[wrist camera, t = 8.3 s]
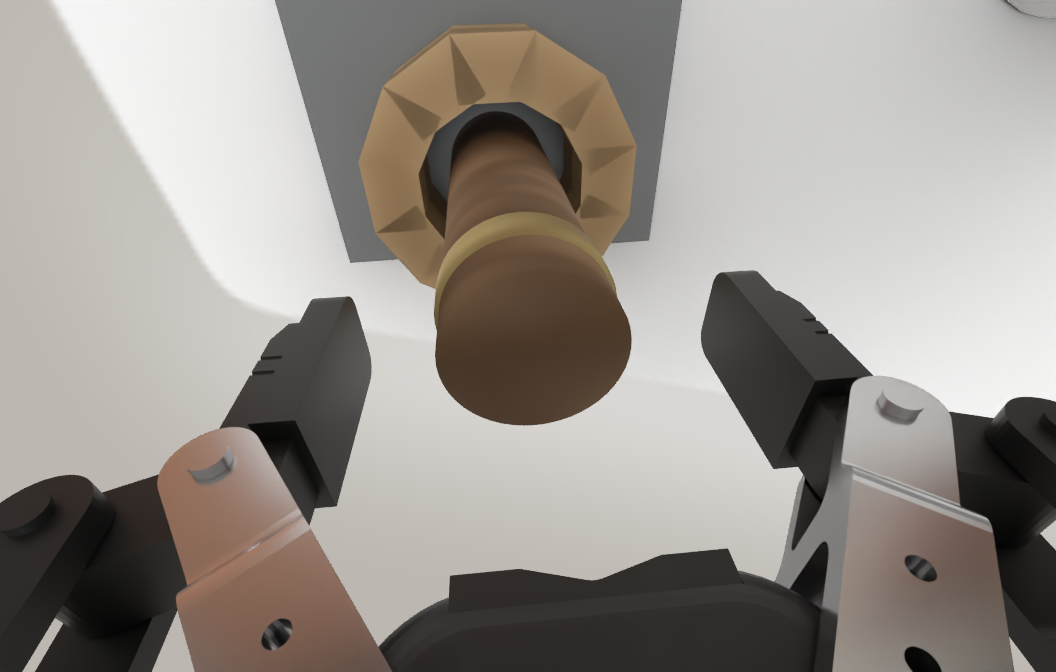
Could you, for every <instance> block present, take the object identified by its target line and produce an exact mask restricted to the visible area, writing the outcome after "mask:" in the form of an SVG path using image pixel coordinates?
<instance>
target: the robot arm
mask: <svg viewBox="0 0 1056 672" xmlns="http://www.w3.org/2000/svg"><path fill="white" fill-rule="evenodd" d="M1008 2H1009V3H1010V4H1012V5H1013V6H1014V7H1016V8H1017V9H1018V10H1020V11H1021V12H1022V13H1026V14H1030V15H1034V16H1038V17H1046V18H1056V0H1008ZM701 343H702V348H703V351H704V354H705V356H706V358H707V359H708V361H709V363H710V364H711V366H712V368H713V369H714V371H715V373H716V374H717V376H718V378H719V379H720V381H721V383H722V384H723V386H724V388H725V389H726V391H727V393H728V394H729V396H730V397H731V399H732V401H733V402H734V404H735V406H736V408H737V409H738V410H739V412H740V414H741V416H742V417H743V419H744V421H745V422H746V424H747V426H748V427H749V429H750V430H751V432H752V434H753V436H754V437H755V439H756V441H757V442H758V444H759V446H760V447H761V449H762V451H763V452H764V454H765V456H766V457H767V459H768V460H769V462H770V464H771V466H772V467H773V469H778V468H789V467H799V469H800V470H801V472H802V473H803V476H802V478H801V480H800V482H799V485H798V488H797V492H796V498H795V502H794V507H793V512H792V516H791V521H790V526H789V531H788V536H787V540H786V545H785V551H784V555H783V559H782V563H781V566H780V570H779V572H778V575H777V577H776V580H775V582H773V581H771V580H768V579H765V578H763V577H760V576H756V575H753V574H749V573H746V572H742V571H737V568H736V566H735V564H734V561H733V559H732V557H731V555H730V552H729V550H728V549H718V550H708V551H698V552H688V553H678V554H667V555H661V556H658V557H655V558H653V559H650V560H648V561H645V562H643V563H640V564H638V565H635V566H633V567H630V568H628V569H625V570H622V571H620V572H618V573H615V574H613V575H610V576H608V577H605V578H603V579H599V580H593V581H591V580H583V579H577V578H571V577H565V576H559V575H553V574H547V573H540V572H535V571H529V570H523V569H514V570H504V571H494V572H484V573H474V574H464V575H453V576H450V587H449V598H447V599H444V600H441V601H439V602H437V603H435V604H433V605H431V606H429V607H427V608H425V609H424V610H422V611H420V612H419V613H417V614H416V615H414V616H413V617H411V618H410V619H409V620H407V621H406V622H404V623H403V624H402V625H401V626H400V627H398V628H397V629H396V630H395V631H394V632H393V633H392V634H390V635H389V636H388V637H387V639H385V641H384V642H383V643H382V644H381V645H380V646H379V647H378V646H377V644H376V642H375V640H374V639H373V637H372V635H371V633H370V632H369V630H368V628H367V626H366V625H365V623H364V621H363V619H362V618H361V616H360V614H359V612H358V611H357V609H356V607H355V605H354V604H353V602H352V600H351V599H350V597H349V595H348V593H347V592H346V590H345V588H344V586H343V584H342V583H341V581H340V579H339V578H338V576H337V574H336V572H335V570H334V569H333V567H332V565H331V564H330V562H329V560H328V558H327V556H326V555H325V553H324V551H323V549H322V548H321V546H320V544H319V543H318V541H317V539H316V537H315V536H314V534H313V532H312V530H311V528H310V527H309V525H310V522H311V519H312V516H313V512H314V509H315V508H321V507H322V508H323V507H334V506H337V503H338V499H339V495H340V491H341V487H342V484H343V480H344V477H345V473H346V468H347V465H348V462H349V458H350V454H351V450H352V447H353V443H354V439H355V435H356V432H357V428H358V424H359V421H360V417H361V413H362V409H363V406H364V401H365V398H366V394H367V390H368V387H369V383H370V379H371V358H370V353H369V349H368V346H367V342H366V339H365V336H364V332H363V329H362V326H361V322H360V319H359V316H358V312H357V309H356V306H355V303H354V301H353V300H352V298H351V297H334V298H319V299H313V300H311V302H310V304H309V305H308V307H307V309H306V311H305V313H304V315H303V317H302V319H301V321H300V323H293V324H288V325H287V326H286V327H285V328H284V329H283V330H281V331H280V332H279V333H278V334H277V335H275V337H273V338H272V339H271V340H270V341H269V343H268V345H267V347H266V348H265V350H264V352H263V354H262V355H261V361H258V362H257V364H256V366H255V368H254V369H253V371H252V376H249V378H248V380H247V382H246V383H245V385H244V387H243V388H242V390H241V392H240V394H239V396H238V397H237V399H236V401H235V402H234V404H233V406H232V408H231V409H230V411H229V413H228V415H227V416H226V418H225V420H224V422H223V423H222V425H221V427H220V429H217V430H214V431H211V432H208V433H205V434H203V435H201V436H199V437H197V438H195V439H193V440H191V441H190V442H188V443H187V444H185V445H183V446H182V447H181V448H180V449H178V450H177V451H176V452H175V453H174V454H173V455H172V456H171V457H170V458H169V459H168V460H167V462H166V463H165V464H164V466H163V468H162V469H161V471H160V474H159V475H156V476H153V477H150V478H147V479H143V480H140V481H137V482H134V483H131V484H128V485H125V486H121V487H118V488H115V489H112V490H109V491H106V492H103V493H102V492H100V491H99V489H98V488H97V487H96V486H95V485H94V484H93V483H92V482H91V481H89V480H88V479H87V478H85V477H82V476H79V475H65V476H58V477H53V478H50V479H46V480H43V481H40V482H38V483H35V484H33V485H31V486H29V487H26V488H24V489H22V490H21V491H19V492H17V493H15V494H13V495H12V496H10V497H9V498H7V499H5V500H4V501H3V502H1V503H0V672H22V671H23V670H24V668H25V666H26V665H27V663H28V661H29V660H30V658H31V656H32V655H33V653H34V651H35V650H36V648H37V646H38V645H39V643H40V641H41V640H42V638H43V637H44V635H45V633H46V631H47V630H48V628H49V627H50V625H51V623H52V622H53V620H54V618H56V619H58V620H59V621H61V622H62V623H63V625H62V627H61V629H60V630H59V632H58V634H57V635H56V637H55V639H54V640H53V642H52V644H51V645H50V647H49V649H48V651H47V652H46V654H45V656H44V657H43V659H42V661H41V663H40V664H39V666H38V668H37V669H36V671H35V672H152V669H153V667H154V665H155V662H156V660H157V657H158V655H159V653H160V650H161V648H162V646H163V643H164V641H165V638H166V636H167V634H168V631H169V629H170V627H171V624H172V622H173V619H174V617H175V615H176V612H177V610H178V614H179V617H180V621H181V624H182V628H183V631H184V635H185V638H186V642H187V646H188V649H189V653H190V656H191V660H192V664H193V667H194V671H195V672H1014V667H1013V660H1012V653H1011V646H1010V641H1009V637H1010V638H1011V639H1012V641H1013V642H1014V643H1015V645H1016V646H1017V647H1018V649H1019V650H1020V651H1021V653H1022V654H1023V655H1024V657H1025V658H1026V659H1027V661H1028V662H1029V663H1030V665H1031V666H1032V667H1033V669H1034V670H1035V671H1036V672H1056V550H1055V549H1054V548H1053V547H1052V546H1051V545H1050V544H1049V543H1048V542H1047V541H1046V540H1045V538H1043V536H1042V535H1041V534H1040V533H1041V532H1042V531H1043V530H1044V529H1046V528H1047V527H1048V526H1049V525H1050V524H1052V523H1053V522H1054V521H1055V520H1056V402H1054V401H1051V400H1047V399H1042V398H1035V397H1019V398H1015V399H1012V400H1010V401H1008V402H1007V403H1006V405H1005V406H1004V407H1003V408H1002V409H1001V411H1000V412H999V413H998V414H997V415H996V416H995V418H988V417H981V416H975V415H968V414H961V413H955V412H948V410H947V409H946V408H945V406H944V405H943V404H942V403H941V402H940V401H939V400H938V399H936V398H935V397H934V396H932V395H931V394H930V393H928V392H926V391H925V390H923V389H921V388H919V387H917V386H915V385H913V384H911V383H908V382H905V381H902V380H899V379H895V378H891V377H885V376H873V375H872V374H871V373H870V372H869V371H868V370H867V369H866V368H865V367H864V366H863V365H862V364H861V363H860V362H859V361H858V360H857V359H856V358H855V357H854V356H853V355H852V354H851V353H850V352H849V351H848V350H847V349H846V348H845V347H844V346H843V345H842V344H841V343H840V342H839V341H838V340H837V339H836V338H835V337H834V336H833V335H832V334H828V330H827V329H826V328H825V327H824V326H823V325H822V324H821V323H820V322H819V321H816V318H815V317H814V315H813V314H812V313H811V312H810V311H809V310H808V309H807V308H806V307H805V306H804V305H803V304H802V303H800V302H798V301H797V300H795V299H793V298H791V297H789V296H788V295H786V294H784V293H782V292H780V291H775V289H774V288H773V287H772V286H771V285H770V284H769V283H768V282H767V281H766V280H765V279H764V278H763V277H762V276H761V275H760V274H759V273H758V272H757V271H753V270H752V271H737V272H722V273H719V274H718V275H717V276H716V277H715V279H714V282H713V285H712V289H711V294H710V298H709V302H708V306H707V310H706V314H705V318H704V322H703V326H702V330H701Z"/></svg>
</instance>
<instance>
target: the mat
mask: <svg viewBox="0 0 1056 672" xmlns="http://www.w3.org/2000/svg"><path fill="white" fill-rule="evenodd" d="M275 2H276V6H277V9H278V13H279V16H280V20H281V23H282V27H283V30H284V34H285V37H286V41H287V44H288V47H289V51H290V54H291V58H292V61H293V65H294V68H295V72H296V75H297V79H298V82H299V86H300V89H301V93H302V96H303V100H304V103H305V107H306V110H307V114H308V117H309V121H310V124H311V128H312V131H313V134H314V138H315V141H316V145H317V148H318V152H319V155H320V159H321V162H322V166H323V169H324V173H325V176H326V180H327V183H328V187H329V190H330V194H331V197H332V201H333V204H334V208H335V211H336V215H337V218H338V221H339V225H340V228H341V232H342V235H343V239H344V242H345V246H346V249H347V253H348V256H349V260H350V263H354V262H367V261H380V260H394V259H398V258H397V257H396V255H395V254H394V253H393V252H392V251H391V250H390V249H389V248H388V247H387V246H386V245H385V243H384V242H383V241H382V240H381V239H380V238H379V237H378V236H377V235H376V234H375V230H374V226H373V221H372V217H371V213H370V209H369V205H368V201H367V197H366V192H365V188H364V184H363V180H362V176H361V172H360V168H359V163H358V162H359V159H360V155H361V152H362V149H363V146H364V143H365V140H366V137H367V134H368V131H369V128H370V125H371V121H372V118H373V115H374V112H375V109H376V106H377V103H378V100H379V97H380V94H381V91H382V87H383V86H384V84H385V83H386V82H387V81H388V79H389V78H390V77H391V76H392V75H393V73H394V72H395V71H396V70H397V69H398V68H399V67H400V66H401V65H403V64H404V63H405V62H407V61H408V60H409V59H410V58H412V57H413V56H414V55H415V54H417V53H418V52H419V51H421V50H422V49H423V48H424V47H426V46H427V45H428V44H429V43H431V42H432V41H433V40H435V39H436V38H437V37H438V36H440V35H441V34H442V33H443V32H445V31H446V30H447V29H449V28H450V27H451V26H453V25H477V24H501V23H524V24H526V25H528V26H529V27H531V28H532V29H534V30H536V31H537V32H539V33H540V34H542V35H543V36H545V37H546V38H548V39H550V40H551V41H553V42H554V43H556V44H557V45H559V46H560V47H562V48H563V49H565V50H567V51H568V52H570V53H571V54H573V55H574V56H576V57H577V58H579V59H581V60H582V61H584V62H585V63H587V64H588V65H590V66H591V67H593V68H595V69H596V70H598V71H599V72H601V73H602V74H604V75H605V76H606V78H607V80H608V82H609V85H610V87H611V89H612V91H613V94H614V96H615V98H616V100H617V103H618V105H619V107H620V109H621V111H622V114H623V116H624V118H625V120H626V123H627V125H628V127H629V129H630V132H631V134H632V136H633V138H634V140H635V143H636V145H637V148H636V158H635V167H634V176H633V186H632V195H631V204H630V214H629V217H628V218H627V220H626V221H625V223H624V224H623V226H622V227H621V229H620V230H619V231H618V233H617V234H616V236H615V237H614V239H613V240H612V242H611V243H620V242H633V241H646V240H649V236H650V228H651V221H652V214H653V207H654V199H655V192H656V185H657V178H658V170H659V163H660V156H661V149H662V141H663V134H664V127H665V120H666V112H667V105H668V98H669V91H670V83H671V76H672V69H673V62H674V54H675V47H676V40H677V33H678V25H679V18H680V11H681V4H682V0H275ZM490 111H502V112H508V113H511V114H514V115H516V116H518V117H519V118H521V119H522V120H524V121H525V122H526V123H527V124H528V125H529V126H530V127H531V128H532V129H533V131H534V132H535V134H536V136H537V138H538V140H539V142H540V144H541V146H542V148H543V150H544V152H545V154H546V156H547V158H548V160H549V162H550V164H551V166H552V168H553V170H554V172H555V174H556V176H557V178H558V180H560V178H561V176H562V175H563V163H564V135H563V134H562V132H561V130H560V128H559V126H558V124H557V122H556V121H554V120H552V119H550V118H549V117H547V116H545V115H543V114H542V113H540V112H538V111H536V110H535V109H533V108H531V107H529V106H528V105H526V104H524V103H522V102H505V103H486V104H473V105H472V106H470V107H469V108H467V109H466V110H465V111H463V112H462V113H461V114H459V115H458V116H456V117H455V118H454V119H452V120H451V121H450V122H448V123H447V124H445V125H444V126H443V127H441V128H440V129H439V130H437V131H436V132H435V134H434V136H433V139H432V141H431V144H430V146H429V149H428V151H427V156H428V163H429V169H430V176H431V182H432V183H433V184H434V186H435V187H436V188H437V190H438V191H439V192H440V194H441V195H442V196H443V197H444V199H445V200H446V201H447V203H448V194H449V182H450V170H451V158H452V149H453V144H454V141H455V138H456V136H457V134H458V133H459V131H460V130H461V128H462V127H463V126H464V125H465V124H466V123H467V122H468V121H469V120H470V119H472V118H474V117H475V116H477V115H480V114H482V113H485V112H490Z"/></svg>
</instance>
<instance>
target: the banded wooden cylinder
mask: <svg viewBox="0 0 1056 672" xmlns="http://www.w3.org/2000/svg"><path fill="white" fill-rule="evenodd" d="M434 318H435V325H436V329H437V338H436V351H435V357H436V367H437V370H438V374H439V377H440V379H441V381H442V383H443V385H444V387H445V388H446V390H447V391H448V393H449V394H450V395H451V396H452V397H453V398H454V399H455V400H456V401H457V402H458V403H459V404H461V405H462V406H463V407H464V408H466V409H467V410H469V411H471V412H472V413H474V414H476V415H479V416H480V417H483V418H485V419H488V420H491V421H495V422H499V423H504V424H511V425H538V424H545V423H550V422H554V421H558V420H562V419H564V418H568V417H570V416H573V415H575V414H577V413H579V412H581V411H583V410H585V409H587V408H588V407H590V406H591V405H593V404H594V403H596V402H597V401H599V400H600V399H601V398H602V397H603V396H604V395H606V394H607V393H608V392H609V391H610V389H611V388H612V387H613V386H614V385H615V384H616V382H617V381H618V380H619V378H620V377H621V375H622V373H623V371H624V369H625V367H626V365H627V362H628V359H629V355H630V351H631V330H630V325H629V322H628V318H627V316H626V314H625V312H624V310H623V308H622V306H621V304H620V302H619V300H618V298H617V294H616V288H615V284H614V281H613V278H612V276H611V274H610V272H609V270H608V268H607V266H606V264H605V262H604V260H603V258H602V256H601V254H600V252H599V250H598V249H597V247H596V246H595V244H594V243H593V241H592V240H591V239H590V238H589V237H588V236H587V235H586V234H585V232H584V230H583V228H582V226H581V224H580V222H579V220H578V218H577V216H576V214H575V212H574V210H573V208H572V206H571V204H570V202H569V200H568V198H567V196H566V194H565V192H564V190H563V188H562V186H561V184H560V182H559V180H558V178H557V176H556V174H555V172H554V170H553V168H552V166H551V164H550V162H549V160H548V158H547V156H546V154H545V152H544V150H543V148H542V146H541V144H540V142H539V140H538V138H537V136H536V134H535V132H534V131H533V129H532V128H531V127H530V126H529V125H528V124H527V123H526V122H525V121H524V120H522V119H521V118H519V117H518V116H516V115H514V114H511V113H508V112H502V111H490V112H485V113H482V114H480V115H477V116H475V117H474V118H472V119H470V120H469V121H468V122H467V123H466V124H465V125H464V126H463V127H462V128H461V130H460V131H459V133H458V134H457V136H456V138H455V141H454V144H453V149H452V158H451V170H450V182H449V194H448V206H447V218H446V230H445V242H444V254H443V262H442V265H441V267H440V270H439V274H438V278H437V286H436V296H435V307H434Z"/></svg>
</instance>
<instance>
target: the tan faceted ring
mask: <svg viewBox="0 0 1056 672" xmlns="http://www.w3.org/2000/svg"><path fill="white" fill-rule="evenodd" d="M505 102H522V103H524V104H526V105H528V106H529V107H531V108H533V109H535V110H536V111H538V112H540V113H542V114H543V115H545V116H547V117H549V118H550V119H552V120H554V121H556V122H557V124H558V126H559V128H560V130H561V132H562V134H563V135H564V163H563V175H562V176H561V178H560V180H559V182H560V184H561V186H562V188H563V190H564V192H565V194H566V196H567V198H568V200H569V202H570V204H571V206H572V208H573V210H574V212H575V214H576V216H577V218H578V220H579V222H580V224H581V226H582V228H583V230H584V232H585V234H586V235H587V236H588V237H589V238H590V239H591V240H592V241H593V243H594V244H595V246H596V247H597V249H598V250H599V252H600V254H601V256H602V255H603V254H604V252H605V251H606V249H607V248H608V246H609V245H610V243H611V242H612V240H613V239H614V237H615V236H616V234H617V233H618V231H619V230H620V229H621V227H622V226H623V224H624V223H625V221H626V220H627V218H628V217H629V214H630V204H631V195H632V186H633V176H634V167H635V158H636V148H637V145H636V143H635V140H634V138H633V136H632V134H631V132H630V129H629V127H628V125H627V123H626V120H625V118H624V116H623V114H622V111H621V109H620V107H619V105H618V103H617V100H616V98H615V96H614V94H613V91H612V89H611V87H610V85H609V82H608V80H607V78H606V76H605V75H604V74H602V73H601V72H599V71H598V70H596V69H595V68H593V67H591V66H590V65H588V64H587V63H585V62H584V61H582V60H581V59H579V58H577V57H576V56H574V55H573V54H571V53H570V52H568V51H567V50H565V49H563V48H562V47H560V46H559V45H557V44H556V43H554V42H553V41H551V40H550V39H548V38H546V37H545V36H543V35H542V34H540V33H539V32H537V31H536V30H534V29H532V28H531V27H529V26H528V25H526V24H524V23H501V24H477V25H453V26H451V27H450V28H449V29H447V30H446V31H445V32H443V33H442V34H441V35H440V36H438V37H437V38H436V39H435V40H433V41H432V42H431V43H429V44H428V45H427V46H426V47H424V48H423V49H422V50H421V51H419V52H418V53H417V54H415V55H414V56H413V57H412V58H410V59H409V60H408V61H407V62H405V63H404V64H403V65H401V66H400V67H399V68H398V69H397V70H396V71H395V72H394V73H393V75H392V76H391V77H390V78H389V79H388V81H387V82H386V83H385V84H384V86H383V87H382V91H381V94H380V97H379V100H378V103H377V106H376V109H375V112H374V115H373V118H372V121H371V125H370V128H369V131H368V134H367V137H366V140H365V143H364V146H363V149H362V152H361V155H360V159H359V162H358V163H359V168H360V172H361V176H362V180H363V184H364V188H365V192H366V197H367V201H368V205H369V209H370V213H371V217H372V221H373V226H374V230H375V234H376V235H377V236H378V237H379V238H380V239H381V240H382V241H383V242H384V243H385V245H386V246H387V247H388V248H389V249H390V250H391V251H392V252H393V253H394V254H395V255H396V257H397V258H398V259H399V260H400V261H401V262H402V263H403V264H404V265H405V266H406V268H407V269H408V270H409V271H410V272H411V273H412V274H413V275H414V276H415V277H416V278H417V280H418V281H419V282H420V283H422V284H425V285H427V286H430V287H433V288H435V289H436V286H437V278H438V274H439V270H440V267H441V265H442V262H443V254H444V242H445V230H446V218H447V206H448V203H447V201H446V200H445V199H444V197H443V196H442V195H441V194H440V192H439V191H438V190H437V188H436V187H435V186H434V184H433V183H432V182H431V176H430V169H429V163H428V156H427V151H428V149H429V146H430V144H431V141H432V139H433V136H434V134H435V132H436V131H437V130H439V129H440V128H441V127H443V126H444V125H445V124H447V123H448V122H450V121H451V120H452V119H454V118H455V117H456V116H458V115H459V114H461V113H462V112H463V111H465V110H466V109H467V108H469V107H470V106H472V105H473V104H486V103H505Z"/></svg>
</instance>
